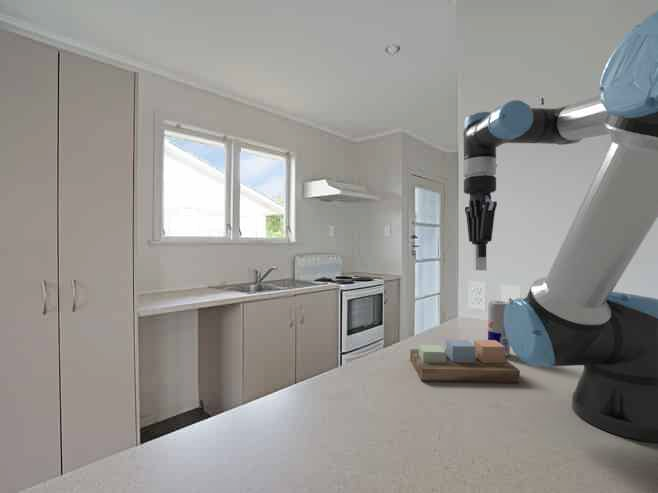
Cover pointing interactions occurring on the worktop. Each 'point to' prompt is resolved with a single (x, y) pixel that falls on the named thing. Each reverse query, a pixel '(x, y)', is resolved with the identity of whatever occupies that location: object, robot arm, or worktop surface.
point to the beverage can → (497, 324)
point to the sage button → (432, 354)
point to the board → (464, 371)
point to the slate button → (460, 351)
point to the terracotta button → (489, 351)
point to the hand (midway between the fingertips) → (479, 270)
